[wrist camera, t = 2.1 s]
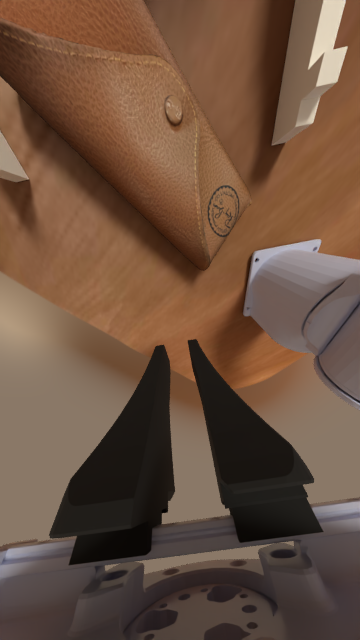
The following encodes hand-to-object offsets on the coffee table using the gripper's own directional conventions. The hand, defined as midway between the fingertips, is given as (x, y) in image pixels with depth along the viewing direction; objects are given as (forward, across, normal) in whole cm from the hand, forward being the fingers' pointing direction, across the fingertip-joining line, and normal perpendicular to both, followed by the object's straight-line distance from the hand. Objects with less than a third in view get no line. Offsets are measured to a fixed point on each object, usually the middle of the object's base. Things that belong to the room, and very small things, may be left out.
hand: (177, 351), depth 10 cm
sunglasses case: (+11, -1, -13) cm, 17 cm away
